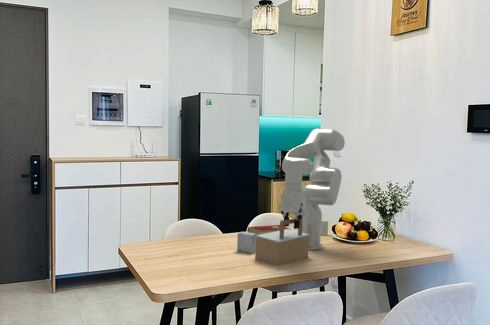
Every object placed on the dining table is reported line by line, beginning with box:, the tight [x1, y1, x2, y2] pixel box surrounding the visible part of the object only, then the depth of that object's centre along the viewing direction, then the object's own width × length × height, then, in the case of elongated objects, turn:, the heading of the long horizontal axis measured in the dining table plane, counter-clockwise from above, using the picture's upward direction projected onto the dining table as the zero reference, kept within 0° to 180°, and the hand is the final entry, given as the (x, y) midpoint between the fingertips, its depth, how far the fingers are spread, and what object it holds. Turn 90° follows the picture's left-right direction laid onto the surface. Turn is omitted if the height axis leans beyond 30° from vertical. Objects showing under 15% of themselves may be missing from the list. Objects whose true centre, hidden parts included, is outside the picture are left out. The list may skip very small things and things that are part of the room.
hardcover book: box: [246, 224, 292, 235], centre depth 254 cm, size 12×21×4 cm, turn 117°
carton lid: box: [256, 217, 309, 243], centre depth 206 cm, size 13×22×9 cm, turn 135°
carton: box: [254, 236, 310, 267], centre depth 207 cm, size 13×22×10 cm, turn 135°
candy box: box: [321, 220, 329, 237], centre depth 257 cm, size 16×2×8 cm, turn 83°
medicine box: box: [236, 231, 256, 254], centre depth 216 cm, size 8×4×9 cm, turn 65°
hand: (291, 226), depth 203 cm, fingers open, 5 cm apart
